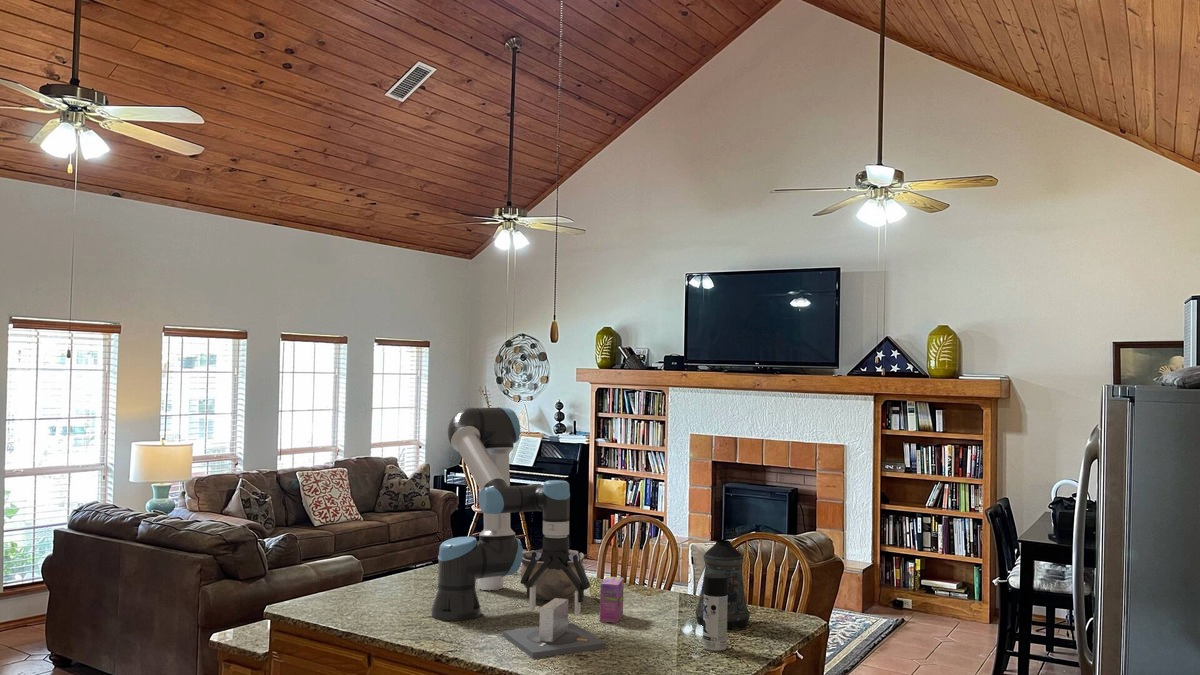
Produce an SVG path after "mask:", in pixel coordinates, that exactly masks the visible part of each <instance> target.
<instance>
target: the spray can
mask: <svg viewBox="0 0 1200 675" xmlns="http://www.w3.org/2000/svg"><path fill="white" fill-rule="evenodd" d="M703 578H704V607H703V627H702V630H703V631H702V647H703V649H704V650H705V651H709V652H715V653H719V652H724V651H725V650H727V643H728V642H727V641H728V637H727V636H728V630H727V599H728V577H727V576H726V575H722V574H706V575H705V576H704V575H703Z"/></svg>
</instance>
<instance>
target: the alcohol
mask: <svg viewBox="0 0 1200 675" xmlns="http://www.w3.org/2000/svg"><path fill="white" fill-rule="evenodd" d="M477 587H478V589H479V590H480V589H481V590H480V591H483V590H489V591H488V592H491V591H490V590H497V591H500V590H499V589H501V588H503V587H504V577H500V576H498V577H489V578H480V579H477ZM501 590H502V589H501Z"/></svg>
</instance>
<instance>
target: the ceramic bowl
mask: <svg viewBox="0 0 1200 675" xmlns="http://www.w3.org/2000/svg"><path fill="white" fill-rule="evenodd" d="M535 551H538V552H539V553H542V551H543V549H542V548H540V549H536V550H531V551H526V552H523V556H522V562H521V566H520V567H521V569H520V578H521V579H522V577H523V575H524V573H525V571H526V569H527V567H528V565H529V563H530V561H531V555H532V553H533V552H535ZM569 554H570V555H576V554H579V555H580V562H581V565H582V567H583V569H584V571H585V566H584V564H583V561H584V557H585V554H584V553H583V552H579V551H578V550H572V549H569ZM543 563H544V562H543V560H542V558H541V557H540V559H539V560H538V561H537V563H536V565H535V567H534V569H533V571H532V573H531V575H530V577H529V579H528V580H530V579H531V578H532V576H533V575H534V574H535V573H536V572H537V571H538V569H539V568H540V567H541V565H542V564H543ZM568 564H569V565H570V567H571V569H572V570H573V572H574V573H575V574H576V576H577V577H578V579H579V580H580V578H579V576H578V573H577V571H576V569H575V567H574V563H573V562H572V561H571V560H569V561H568ZM580 581H581V580H580ZM523 586H524V587H525V589H526V590H527V586H526V585H524V584H523ZM533 586H536V599H539V600H544V601H551V600H553V599H555V598H560V599H569V598H571V597H573V596H575V591H576V590H577V588H576V587H575V586H574V584H573V583H572V581H571V580H570V579H569V577H568V576H567V575H566V573H565V572H564V571H563V570H562V569H560V570H556V569H549V568H547V569H546V570H545V571H544V572H543V573H542V574H541V576H540V577H539V578H538V579H537V580H536V582H535V583H534V584H533Z"/></svg>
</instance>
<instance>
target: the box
mask: <svg viewBox="0 0 1200 675" xmlns="http://www.w3.org/2000/svg"><path fill="white" fill-rule="evenodd" d="M624 584H625V578H624V577H620V576H619V577H618V576H606V577H605V578H604V579H603V581H602V582H601V583H600V594H599V595H600V597H599V598H600V599H599V600H600V601H599V622H600V623H605V622H612V623H611V624H618V623H619V621H620V620H621V618H622V617H623V615H624V590H625V589H624V586H625V585H624Z"/></svg>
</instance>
